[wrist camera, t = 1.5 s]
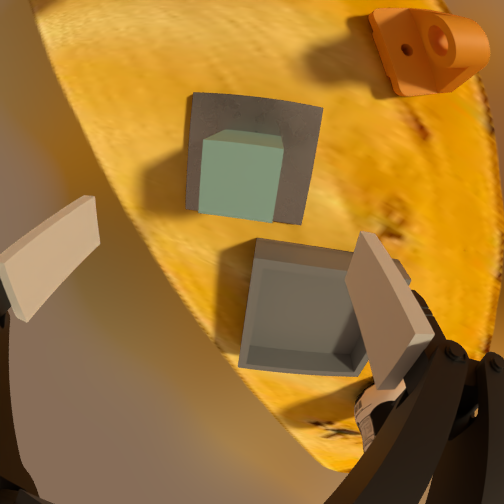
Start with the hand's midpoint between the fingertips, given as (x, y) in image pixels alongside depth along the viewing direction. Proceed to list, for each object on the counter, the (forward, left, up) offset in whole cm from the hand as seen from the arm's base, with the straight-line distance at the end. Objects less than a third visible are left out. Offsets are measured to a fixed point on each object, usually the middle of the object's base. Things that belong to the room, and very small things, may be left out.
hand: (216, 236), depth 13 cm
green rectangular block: (0, 0, -19) cm, 19 cm away
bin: (+20, +12, -20) cm, 31 cm away
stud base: (0, 0, -20) cm, 20 cm away
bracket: (-17, +16, -21) cm, 31 cm away
